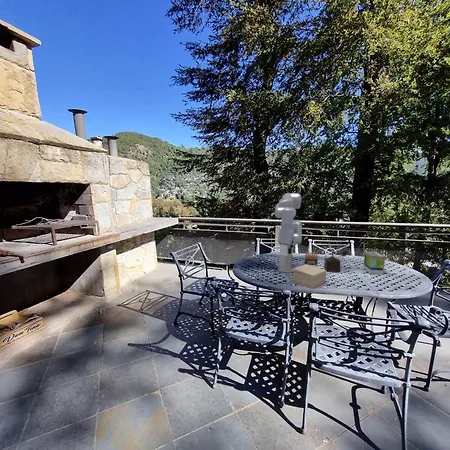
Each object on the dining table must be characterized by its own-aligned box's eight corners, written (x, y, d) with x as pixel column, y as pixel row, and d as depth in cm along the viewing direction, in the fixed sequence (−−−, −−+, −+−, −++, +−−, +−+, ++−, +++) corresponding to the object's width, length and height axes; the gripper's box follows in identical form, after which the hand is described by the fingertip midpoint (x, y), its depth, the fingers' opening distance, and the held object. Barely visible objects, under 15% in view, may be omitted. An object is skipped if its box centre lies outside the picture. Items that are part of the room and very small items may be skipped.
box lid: (292, 269, 178) (292, 268, 178) (305, 265, 188) (306, 264, 188) (313, 276, 165) (313, 275, 165) (326, 271, 176) (326, 270, 176)
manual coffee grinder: (326, 272, 200) (327, 250, 197) (323, 268, 211) (324, 247, 208) (347, 273, 198) (348, 251, 195) (343, 268, 208) (344, 247, 206)
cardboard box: (293, 281, 179) (293, 271, 178) (305, 276, 189) (306, 266, 188) (313, 288, 167) (313, 276, 166) (325, 282, 177) (326, 271, 176)
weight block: (280, 254, 170) (280, 244, 169) (286, 252, 175) (286, 242, 174) (286, 255, 166) (286, 245, 165) (292, 254, 171) (292, 244, 170)
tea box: (383, 274, 193) (385, 256, 191) (369, 274, 195) (371, 255, 193) (376, 269, 208) (377, 251, 206) (363, 268, 210) (364, 251, 208)
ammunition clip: (304, 264, 221) (305, 251, 219) (304, 264, 222) (304, 251, 221) (317, 265, 219) (318, 251, 218) (316, 264, 221) (317, 251, 220)
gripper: (273, 225, 172) (273, 251, 175) (294, 228, 159) (293, 256, 162) (280, 224, 177) (279, 249, 179) (301, 227, 164) (300, 254, 166)
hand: (286, 252), depth 170 cm, fingers closed on weight block, 5 cm apart
